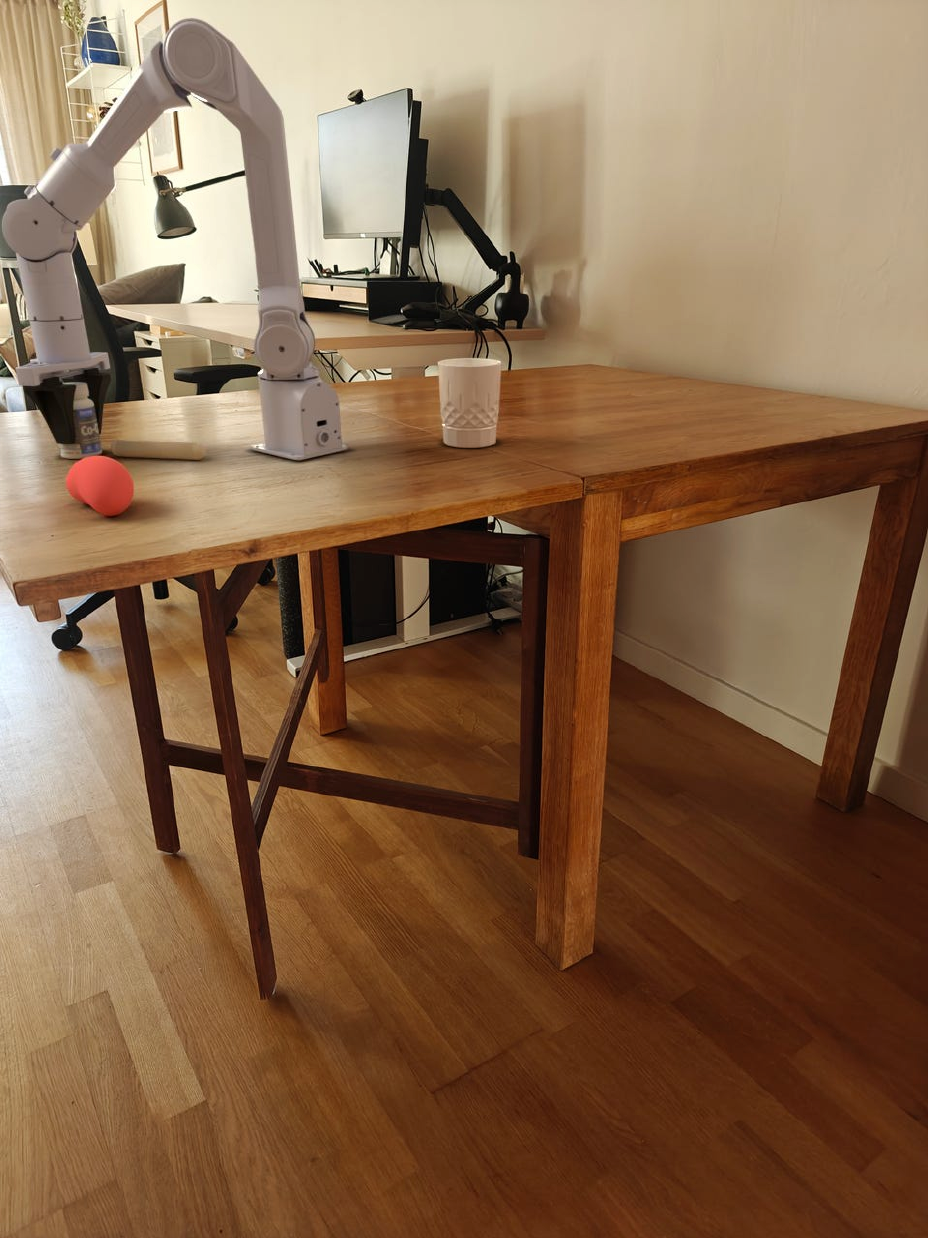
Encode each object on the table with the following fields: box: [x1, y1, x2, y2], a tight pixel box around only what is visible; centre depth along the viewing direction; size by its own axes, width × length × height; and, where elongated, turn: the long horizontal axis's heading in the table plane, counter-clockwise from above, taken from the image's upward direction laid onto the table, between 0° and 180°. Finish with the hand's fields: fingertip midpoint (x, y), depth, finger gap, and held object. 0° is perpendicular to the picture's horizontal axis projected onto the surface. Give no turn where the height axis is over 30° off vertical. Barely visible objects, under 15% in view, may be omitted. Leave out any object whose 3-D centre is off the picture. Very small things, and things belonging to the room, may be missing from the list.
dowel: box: [110, 439, 206, 461], centre depth 99 cm, size 12×2×2 cm, turn 79°
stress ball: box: [65, 455, 135, 517], centre depth 80 cm, size 5×9×6 cm
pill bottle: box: [57, 382, 103, 460], centre depth 100 cm, size 5×5×8 cm
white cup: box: [437, 357, 502, 449], centre depth 105 cm, size 8×8×10 cm
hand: (79, 438), depth 101 cm, fingers closed on pill bottle, 5 cm apart
